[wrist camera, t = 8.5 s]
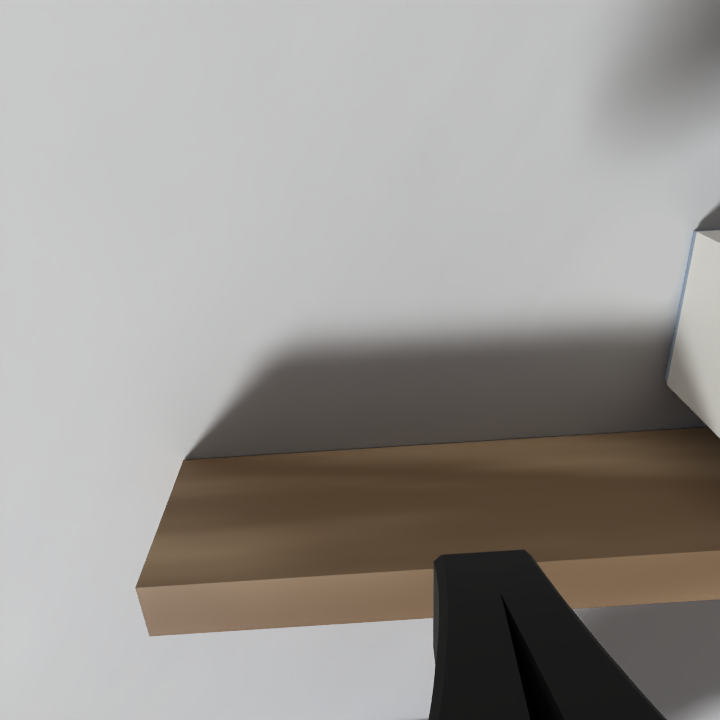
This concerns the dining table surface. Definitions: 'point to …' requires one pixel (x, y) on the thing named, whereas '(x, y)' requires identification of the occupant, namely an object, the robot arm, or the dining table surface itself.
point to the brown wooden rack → (432, 527)
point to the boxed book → (699, 332)
